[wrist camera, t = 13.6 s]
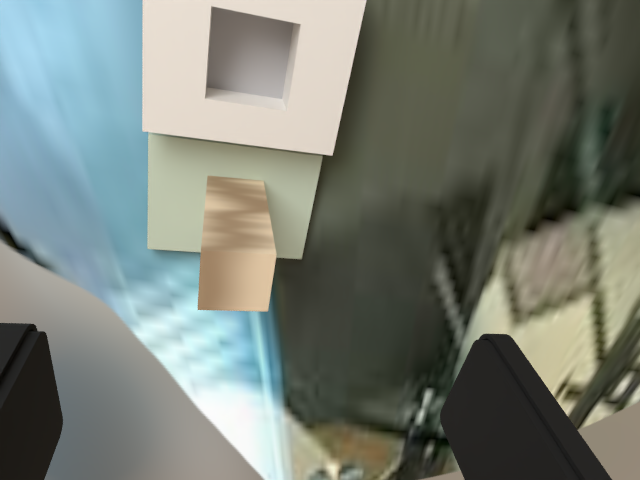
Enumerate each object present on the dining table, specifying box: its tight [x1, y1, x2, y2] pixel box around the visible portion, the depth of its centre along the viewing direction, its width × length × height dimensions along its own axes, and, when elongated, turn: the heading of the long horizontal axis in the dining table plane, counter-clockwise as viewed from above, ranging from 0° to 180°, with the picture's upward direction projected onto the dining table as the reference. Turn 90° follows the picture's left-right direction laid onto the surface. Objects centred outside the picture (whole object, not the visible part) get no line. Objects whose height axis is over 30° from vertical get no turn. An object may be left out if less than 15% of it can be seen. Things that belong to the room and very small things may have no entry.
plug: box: [198, 175, 277, 311], centre depth 29 cm, size 4×4×10 cm
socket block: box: [143, 0, 366, 156], centre depth 28 cm, size 12×10×4 cm
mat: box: [148, 132, 323, 259], centre depth 34 cm, size 12×9×1 cm
